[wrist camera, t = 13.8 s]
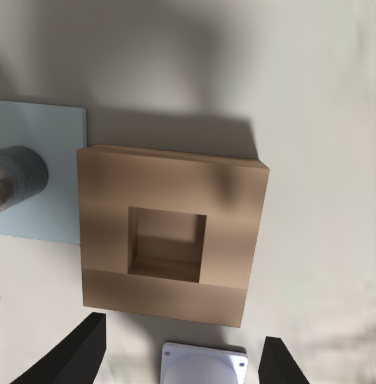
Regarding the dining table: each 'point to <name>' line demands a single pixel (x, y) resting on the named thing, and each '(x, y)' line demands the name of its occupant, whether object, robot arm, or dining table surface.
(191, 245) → the block
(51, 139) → the rubber mat
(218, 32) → the dining table surface
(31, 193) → the steel key peg
